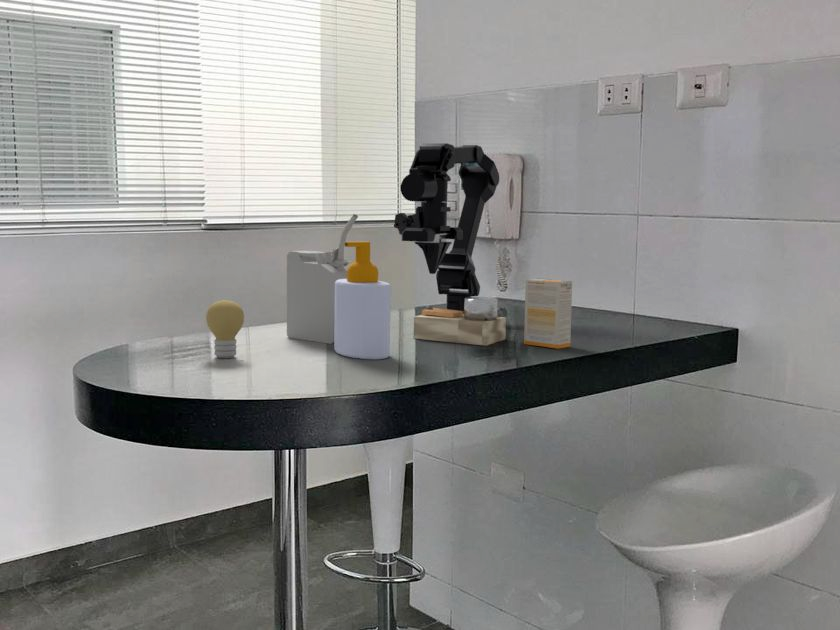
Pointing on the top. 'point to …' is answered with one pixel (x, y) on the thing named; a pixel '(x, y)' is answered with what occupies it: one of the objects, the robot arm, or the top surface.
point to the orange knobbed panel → (441, 312)
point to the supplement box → (548, 312)
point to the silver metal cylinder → (480, 308)
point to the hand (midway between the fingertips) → (432, 273)
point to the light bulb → (225, 326)
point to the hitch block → (459, 329)
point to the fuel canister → (314, 291)
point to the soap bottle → (362, 309)
